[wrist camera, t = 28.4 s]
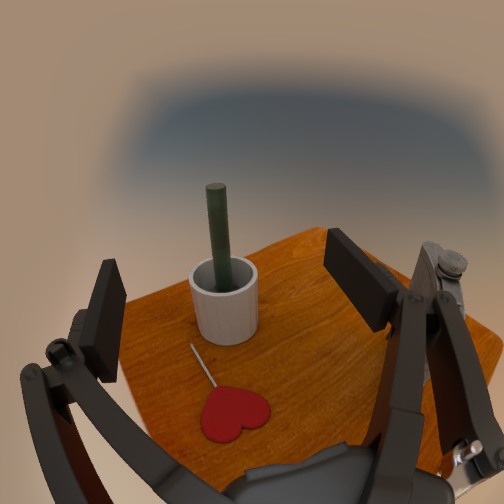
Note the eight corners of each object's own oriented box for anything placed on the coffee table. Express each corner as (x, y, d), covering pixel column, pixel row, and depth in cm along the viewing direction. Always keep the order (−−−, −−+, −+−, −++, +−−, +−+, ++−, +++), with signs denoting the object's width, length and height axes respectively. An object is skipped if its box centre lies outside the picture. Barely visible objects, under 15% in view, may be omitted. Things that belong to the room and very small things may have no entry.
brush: (206, 328, 40) (185, 192, 29) (218, 306, 43) (205, 178, 33) (238, 335, 38) (228, 194, 28) (248, 312, 42) (243, 180, 32)
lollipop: (165, 357, 36) (213, 450, 25) (163, 353, 35) (212, 447, 24) (218, 336, 39) (278, 418, 28) (217, 332, 39) (278, 414, 27)
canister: (188, 337, 39) (176, 288, 34) (212, 298, 46) (205, 251, 41) (247, 351, 36) (245, 302, 32) (264, 308, 44) (265, 260, 39)
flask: (410, 335, 37) (452, 227, 27) (408, 419, 25) (486, 308, 16) (388, 332, 38) (425, 221, 28) (381, 415, 26) (450, 301, 17)
